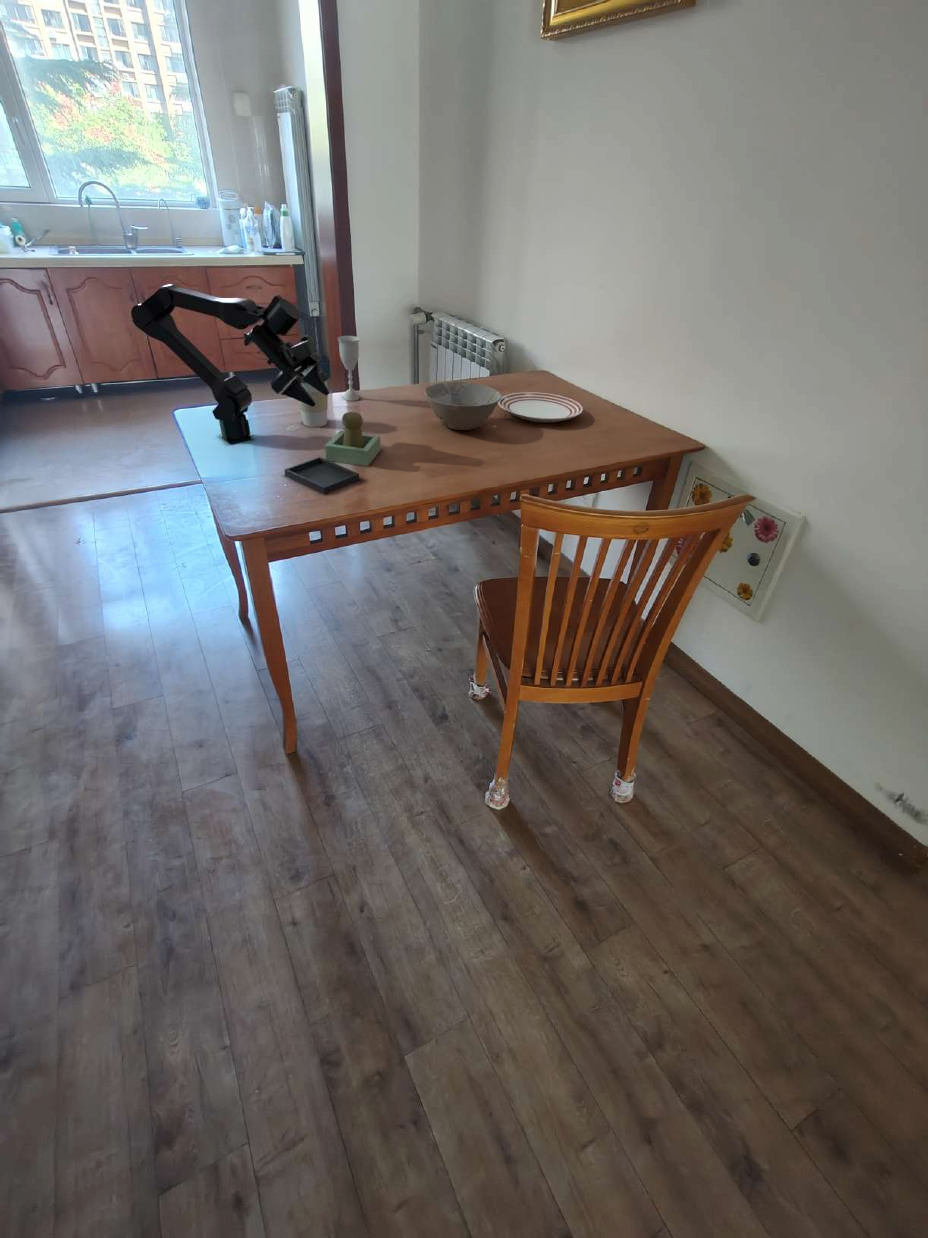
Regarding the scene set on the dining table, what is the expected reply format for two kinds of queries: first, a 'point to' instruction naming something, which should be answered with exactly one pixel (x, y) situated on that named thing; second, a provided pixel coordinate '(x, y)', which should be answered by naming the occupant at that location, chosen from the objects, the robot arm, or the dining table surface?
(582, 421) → the dining table surface
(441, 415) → the ceramic bowl
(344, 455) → the caddy
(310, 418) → the coffee cup
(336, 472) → the tray
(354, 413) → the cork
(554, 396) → the dinner plate
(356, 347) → the chalice
